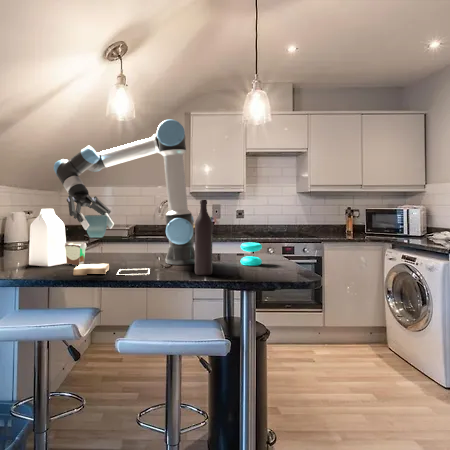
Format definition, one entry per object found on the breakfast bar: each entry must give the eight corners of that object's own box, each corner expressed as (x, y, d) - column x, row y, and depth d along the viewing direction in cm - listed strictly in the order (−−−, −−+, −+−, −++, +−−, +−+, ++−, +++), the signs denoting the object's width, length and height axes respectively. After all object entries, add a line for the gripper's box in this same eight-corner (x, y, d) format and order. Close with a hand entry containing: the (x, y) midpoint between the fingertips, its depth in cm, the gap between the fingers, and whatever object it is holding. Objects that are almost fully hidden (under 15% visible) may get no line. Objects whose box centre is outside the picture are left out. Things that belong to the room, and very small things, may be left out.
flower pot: (84, 236, 159) (84, 214, 159) (106, 236, 162) (106, 215, 162) (84, 238, 151) (84, 215, 151) (107, 238, 154) (107, 215, 154)
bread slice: (108, 269, 165) (108, 263, 164) (105, 274, 153) (105, 267, 153) (79, 270, 162) (79, 264, 162) (73, 275, 151) (73, 268, 151)
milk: (48, 266, 172) (47, 208, 171) (28, 265, 176) (27, 208, 175) (67, 262, 184) (66, 208, 182) (49, 261, 188) (48, 208, 186)
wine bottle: (214, 275, 152) (214, 199, 151) (196, 276, 150) (196, 199, 149) (209, 272, 159) (209, 199, 157) (193, 272, 157) (193, 199, 155)
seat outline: (149, 269, 165) (149, 268, 165) (149, 274, 152) (149, 273, 152) (119, 270, 163) (119, 269, 163) (116, 275, 150) (116, 274, 150)
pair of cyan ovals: (257, 245, 172) (237, 244, 177) (257, 267, 173) (237, 265, 177) (265, 243, 181) (245, 242, 186) (264, 263, 182) (245, 262, 186)
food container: (92, 264, 179) (92, 243, 178) (81, 266, 174) (81, 244, 173) (75, 262, 185) (75, 241, 185) (64, 263, 180) (64, 242, 180)
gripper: (95, 196, 174) (118, 231, 167) (46, 194, 154) (70, 234, 147) (103, 184, 171) (127, 220, 164) (54, 181, 151) (78, 221, 144)
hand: (100, 227), depth 155 cm, fingers closed on flower pot, 12 cm apart
